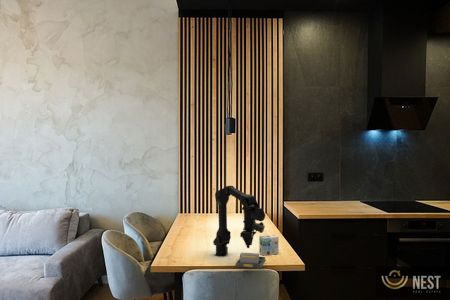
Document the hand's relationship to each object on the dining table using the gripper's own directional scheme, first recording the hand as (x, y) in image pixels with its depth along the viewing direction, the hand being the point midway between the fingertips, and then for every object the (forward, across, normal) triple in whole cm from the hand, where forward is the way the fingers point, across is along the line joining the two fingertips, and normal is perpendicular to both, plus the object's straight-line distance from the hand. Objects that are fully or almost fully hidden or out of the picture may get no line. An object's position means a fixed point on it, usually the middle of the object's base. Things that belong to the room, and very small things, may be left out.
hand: (249, 246), depth 203 cm
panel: (+10, 0, 0) cm, 10 cm away
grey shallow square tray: (+10, +4, 0) cm, 11 cm away
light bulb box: (+11, +26, -7) cm, 29 cm away
